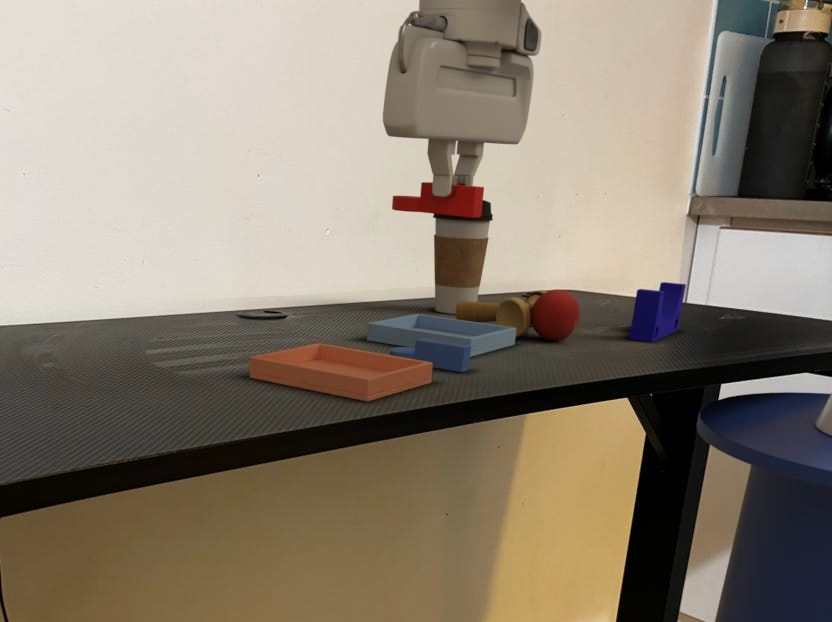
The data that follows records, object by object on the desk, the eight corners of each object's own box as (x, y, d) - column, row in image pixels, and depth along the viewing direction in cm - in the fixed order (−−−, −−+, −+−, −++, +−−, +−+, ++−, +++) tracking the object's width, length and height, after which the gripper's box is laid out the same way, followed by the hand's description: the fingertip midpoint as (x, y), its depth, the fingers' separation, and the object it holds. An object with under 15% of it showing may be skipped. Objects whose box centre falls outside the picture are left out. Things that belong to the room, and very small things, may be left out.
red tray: (431, 382, 96) (433, 362, 95) (367, 401, 88) (368, 379, 87) (318, 362, 103) (318, 342, 102) (249, 377, 95) (249, 357, 94)
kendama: (439, 336, 128) (554, 337, 115) (444, 286, 126) (560, 281, 114) (476, 342, 133) (588, 343, 121) (480, 293, 131) (595, 290, 119)
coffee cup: (473, 306, 145) (483, 197, 138) (492, 315, 137) (503, 200, 131) (419, 306, 143) (426, 195, 136) (435, 315, 136) (444, 198, 129)
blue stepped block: (473, 369, 103) (476, 344, 102) (457, 374, 100) (459, 348, 99) (401, 356, 108) (402, 332, 106) (383, 361, 105) (384, 336, 104)
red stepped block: (486, 217, 91) (489, 186, 90) (467, 218, 89) (470, 187, 88) (405, 208, 96) (407, 179, 95) (384, 209, 93) (386, 179, 92)
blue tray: (514, 344, 117) (516, 327, 116) (469, 357, 109) (471, 339, 108) (416, 329, 124) (417, 313, 123) (366, 340, 116) (367, 323, 115)
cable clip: (645, 326, 134) (652, 281, 131) (677, 330, 132) (686, 284, 129) (617, 337, 125) (625, 288, 122) (652, 342, 123) (660, 292, 120)
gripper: (436, 6, 75) (421, 200, 82) (550, 36, 90) (530, 197, 97) (370, 8, 78) (360, 194, 85) (491, 36, 93) (475, 192, 100)
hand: (451, 196), depth 91 cm, fingers closed on red stepped block
